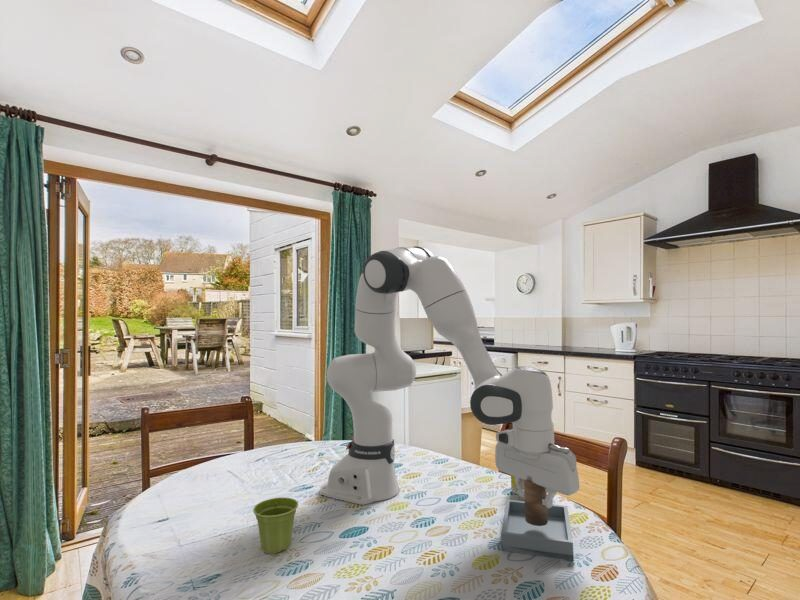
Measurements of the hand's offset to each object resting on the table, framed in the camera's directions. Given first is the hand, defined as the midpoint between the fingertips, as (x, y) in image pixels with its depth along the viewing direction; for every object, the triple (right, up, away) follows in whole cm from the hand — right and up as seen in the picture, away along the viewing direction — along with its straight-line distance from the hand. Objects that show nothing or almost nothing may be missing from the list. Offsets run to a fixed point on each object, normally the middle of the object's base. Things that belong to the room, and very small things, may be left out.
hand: (535, 501), depth 95 cm
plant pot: (-57, -9, -2) cm, 58 cm away
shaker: (0, -4, 0) cm, 4 cm away
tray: (0, -7, 0) cm, 7 cm away
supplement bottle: (+3, -8, +23) cm, 25 cm away
